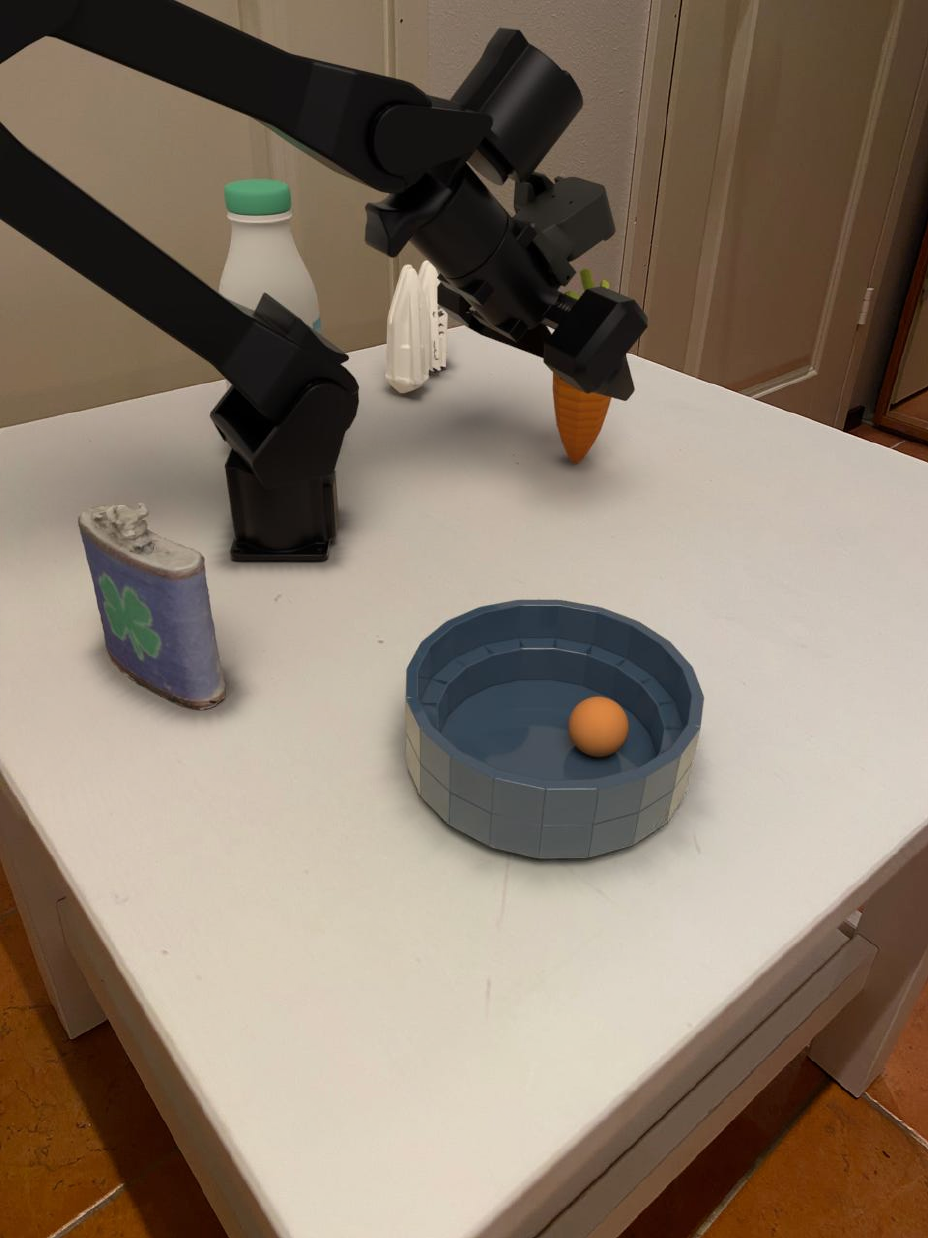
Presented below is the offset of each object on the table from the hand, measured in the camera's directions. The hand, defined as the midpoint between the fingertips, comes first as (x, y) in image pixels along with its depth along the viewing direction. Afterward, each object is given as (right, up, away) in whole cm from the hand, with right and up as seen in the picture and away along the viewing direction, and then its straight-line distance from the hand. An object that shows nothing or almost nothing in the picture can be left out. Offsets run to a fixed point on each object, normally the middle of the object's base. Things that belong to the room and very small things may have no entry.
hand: (591, 374), depth 72 cm
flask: (-27, -22, -19) cm, 40 cm away
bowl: (-6, -26, -24) cm, 36 cm away
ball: (-3, -24, -25) cm, 35 cm away
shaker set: (-14, +4, +18) cm, 23 cm away
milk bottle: (-25, -5, +5) cm, 26 cm away
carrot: (-1, -6, +4) cm, 8 cm away
